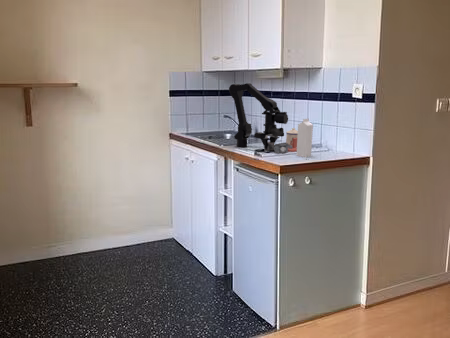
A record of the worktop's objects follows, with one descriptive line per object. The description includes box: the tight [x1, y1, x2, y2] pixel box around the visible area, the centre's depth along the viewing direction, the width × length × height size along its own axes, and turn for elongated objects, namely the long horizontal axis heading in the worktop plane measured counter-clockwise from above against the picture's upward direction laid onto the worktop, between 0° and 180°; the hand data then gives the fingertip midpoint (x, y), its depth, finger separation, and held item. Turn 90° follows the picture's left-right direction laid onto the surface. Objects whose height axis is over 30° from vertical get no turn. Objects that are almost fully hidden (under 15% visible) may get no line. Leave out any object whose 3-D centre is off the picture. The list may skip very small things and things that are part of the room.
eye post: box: [274, 142, 289, 155], centre depth 265 cm, size 2×8×5 cm, turn 126°
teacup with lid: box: [285, 127, 298, 146], centre depth 296 cm, size 12×9×12 cm
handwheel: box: [288, 138, 297, 153], centre depth 274 cm, size 12×9×7 cm
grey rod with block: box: [263, 141, 286, 152], centre depth 269 cm, size 15×4×4 cm, turn 36°
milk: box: [296, 118, 314, 160], centre depth 256 cm, size 6×6×22 cm
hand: (268, 149), depth 274 cm, fingers closed on grey rod with block, 4 cm apart
